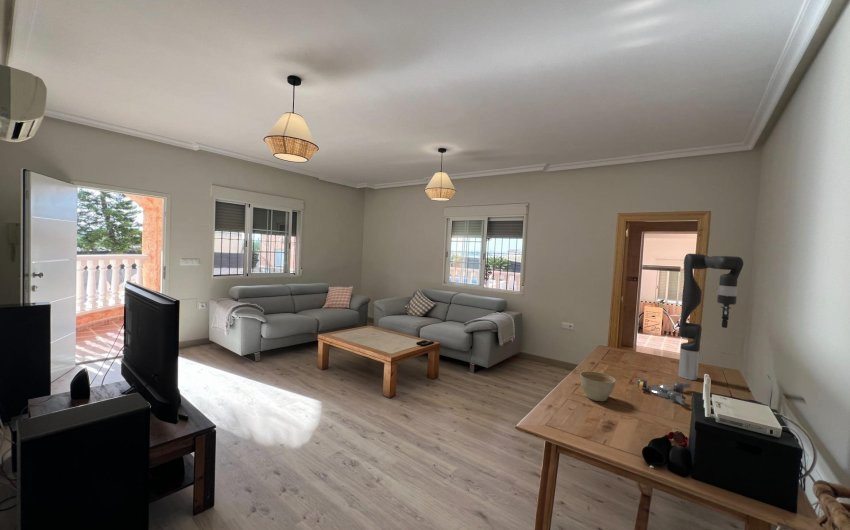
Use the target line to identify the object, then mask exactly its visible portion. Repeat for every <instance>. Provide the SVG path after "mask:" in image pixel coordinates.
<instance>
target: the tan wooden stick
mask: <svg viewBox="0 0 850 530" xmlns="http://www.w3.org/2000/svg"><path fill="white" fill-rule="evenodd" d="M647 383H648V380H647V379H645V378H637V383H636V384H637V386H638V389H640V390H643V389H642V388H643V387H648V384H647Z"/></svg>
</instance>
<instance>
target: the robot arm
mask: <svg viewBox="0 0 850 530" xmlns="http://www.w3.org/2000/svg"><path fill="white" fill-rule="evenodd" d="M743 267H744V260H743V258H742V257H740V256H734V255H733V256H729V255H711V256H708V255H705V254H702V253H686V255H685V256H684V259H683V287H682V294H681V297H682V298H681V313H680V321H679V328H678V335H679V337H680V338H685V339H692V340H691V341H689V342H682V343H681V344H680V351H679V362H678V363H679V364H678V373H677V374H678V375H677V376H678V377H679V378H682V379H685V380H689V381H690V380H691V381H696V380H698V373H699V372H698V371H699V359H700V347H701V346H700V343H701V338H702V325H701V324H697V323H692V322H687V320H688V318H689V317H690V315H691V314H692V313H693V312H694V311H695V309H697V308H699V307H698V306H699V305H700V304H701V301H702V293H703V292H702V290H701V287H700V285H699V283H698V282H697V281H696V279H695V276H694V270H704V269H709V268H710V269H713V270H724V271H725V270H727V271H729V270H730V271H729V272H728V273H724V274H720V276H719V282H718V283H719V285H718V290H717V301H716V302H717V303H718V304H722V305H723V306H720V310H721V313H720V316H721V328H722V329H723V328H724V329H727V328H728V323H729V322H728V321H729V317H731V316H730V315H731V311H732V307H730V305H733V306H734V305H736V304H737V296H738V287H737V286H738V279H739V276H740V275H741V272H742V269H743Z"/></svg>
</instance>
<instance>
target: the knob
mask: <svg viewBox="0 0 850 530" xmlns="http://www.w3.org/2000/svg"><path fill="white" fill-rule="evenodd" d="M680 395H681V394H680V393H678V392H674V391H670V397H669V398H670V399H671V400H674V401H678V402H679V404H680V405H683V406H685V405H686V399H684V398H683V397H682V398H681V397H680Z"/></svg>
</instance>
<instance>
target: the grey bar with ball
mask: <svg viewBox="0 0 850 530" xmlns="http://www.w3.org/2000/svg"><path fill="white" fill-rule="evenodd" d="M689 388H691V383H690V382H678V381H674V382H673V389H675V390H678V391H682V392H684V389H689Z"/></svg>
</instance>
